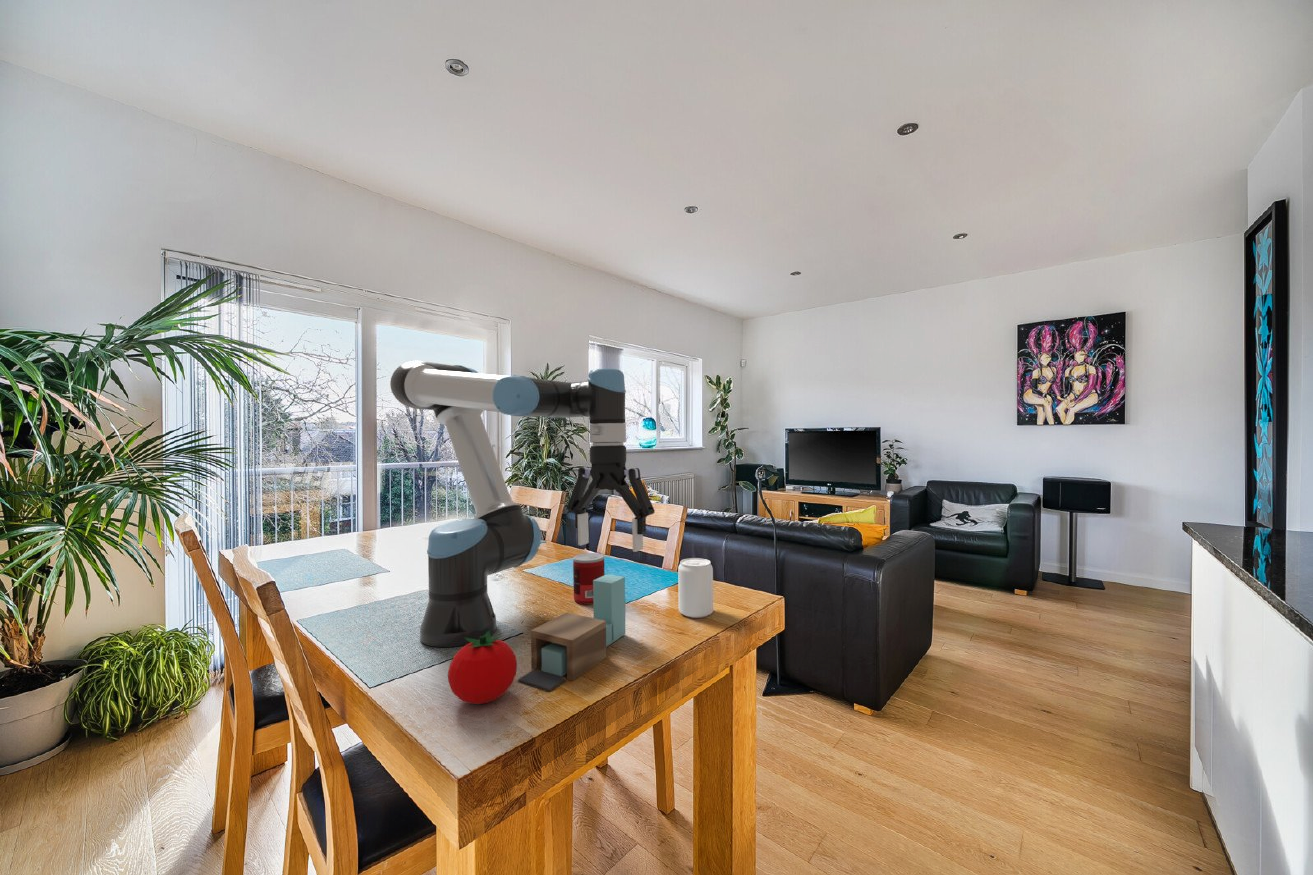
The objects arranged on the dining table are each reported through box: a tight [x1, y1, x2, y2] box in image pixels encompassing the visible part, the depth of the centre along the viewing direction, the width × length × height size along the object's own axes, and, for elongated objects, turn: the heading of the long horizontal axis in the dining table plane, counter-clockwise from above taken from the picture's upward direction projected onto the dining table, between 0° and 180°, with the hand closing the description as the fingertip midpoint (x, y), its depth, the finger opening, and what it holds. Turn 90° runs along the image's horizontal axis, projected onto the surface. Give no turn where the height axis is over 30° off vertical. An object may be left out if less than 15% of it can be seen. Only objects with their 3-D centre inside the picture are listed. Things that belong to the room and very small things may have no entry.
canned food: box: [572, 552, 606, 605], centre depth 126 cm, size 8×8×11 cm
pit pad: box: [517, 669, 566, 693], centre depth 84 cm, size 7×4×1 cm, turn 61°
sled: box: [541, 573, 626, 678], centre depth 96 cm, size 4×20×12 cm, turn 151°
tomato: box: [447, 631, 518, 705], centre depth 79 cm, size 10×10×10 cm
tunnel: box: [530, 612, 607, 682], centre depth 91 cm, size 9×10×7 cm
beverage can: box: [677, 557, 714, 619], centre depth 116 cm, size 8×8×12 cm
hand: (609, 547), depth 102 cm, fingers open, 13 cm apart
